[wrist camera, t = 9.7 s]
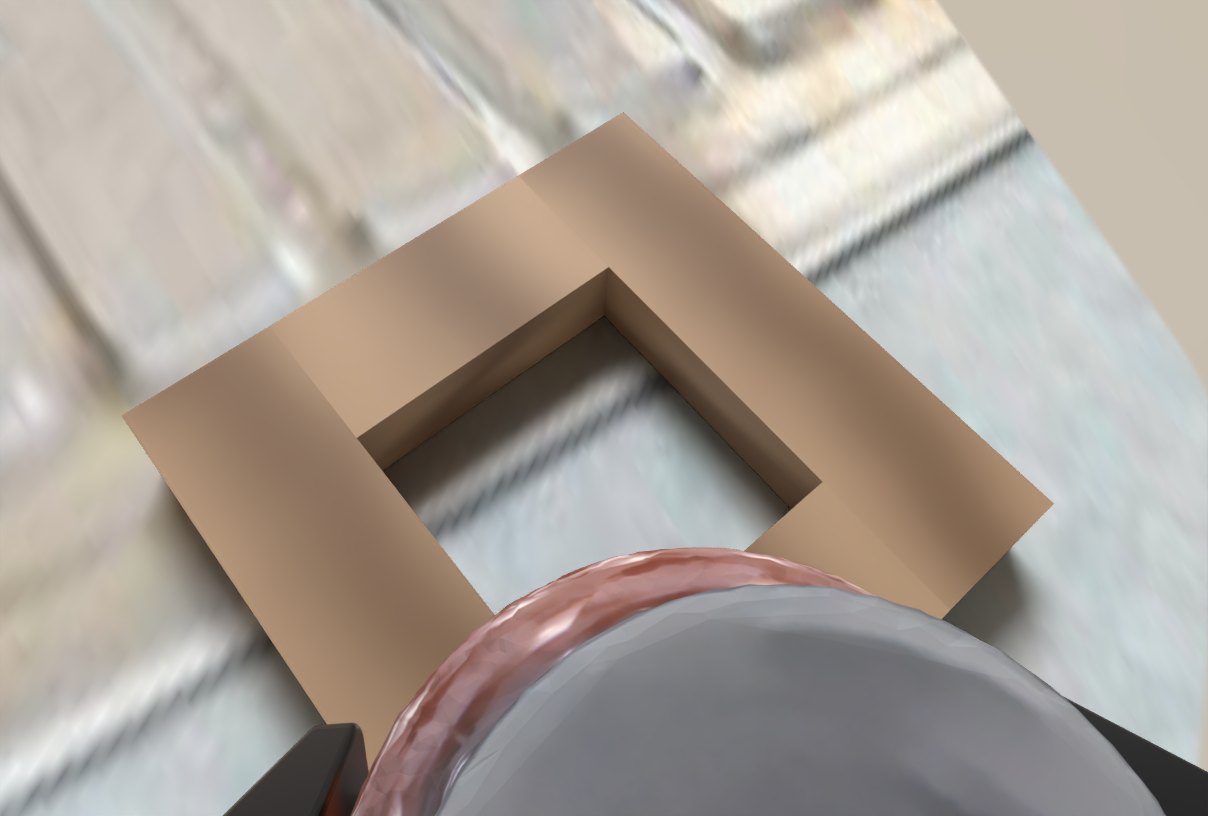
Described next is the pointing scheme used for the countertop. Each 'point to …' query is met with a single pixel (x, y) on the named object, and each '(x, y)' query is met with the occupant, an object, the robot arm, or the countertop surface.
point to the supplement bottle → (737, 707)
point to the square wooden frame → (511, 346)
